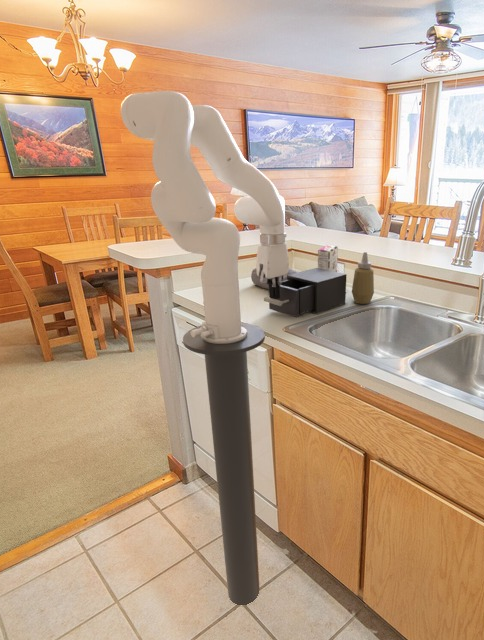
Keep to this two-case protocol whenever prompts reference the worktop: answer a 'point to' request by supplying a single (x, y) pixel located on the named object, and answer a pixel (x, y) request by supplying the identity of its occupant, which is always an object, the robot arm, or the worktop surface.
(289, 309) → the grey drawer with handle
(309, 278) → the grey open box
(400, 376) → the worktop surface
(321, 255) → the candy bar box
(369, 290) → the squeeze bottle
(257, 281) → the soft grey pack
